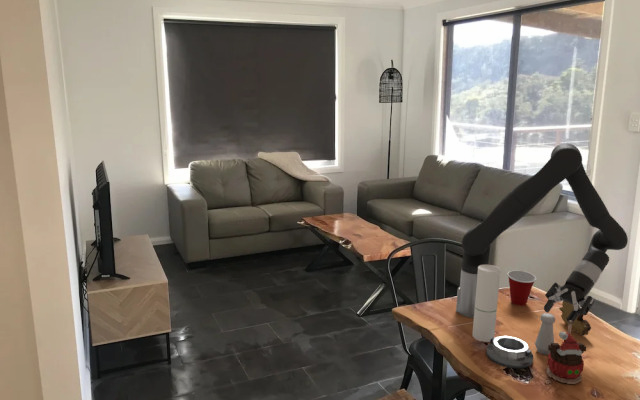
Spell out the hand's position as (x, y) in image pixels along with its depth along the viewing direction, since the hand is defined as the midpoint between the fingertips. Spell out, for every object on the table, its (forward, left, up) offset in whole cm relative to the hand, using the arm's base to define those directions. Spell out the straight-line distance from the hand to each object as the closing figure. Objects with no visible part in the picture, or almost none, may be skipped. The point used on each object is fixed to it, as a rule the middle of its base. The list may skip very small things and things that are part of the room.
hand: (556, 316), depth 165 cm
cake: (+8, -15, -12) cm, 21 cm away
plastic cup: (-23, +29, -12) cm, 38 cm away
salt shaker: (-2, -4, -12) cm, 13 cm away
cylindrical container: (-21, -8, -12) cm, 25 cm away
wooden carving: (0, +20, -12) cm, 23 cm away
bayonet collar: (-9, -15, -12) cm, 21 cm away
